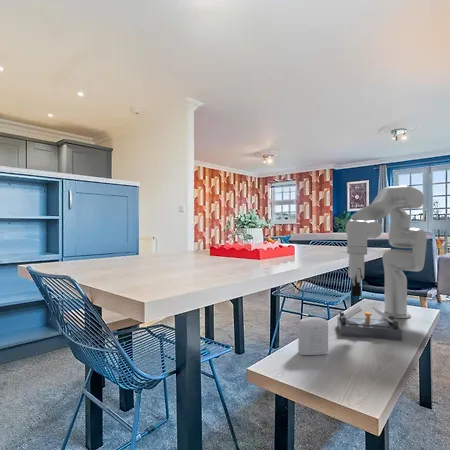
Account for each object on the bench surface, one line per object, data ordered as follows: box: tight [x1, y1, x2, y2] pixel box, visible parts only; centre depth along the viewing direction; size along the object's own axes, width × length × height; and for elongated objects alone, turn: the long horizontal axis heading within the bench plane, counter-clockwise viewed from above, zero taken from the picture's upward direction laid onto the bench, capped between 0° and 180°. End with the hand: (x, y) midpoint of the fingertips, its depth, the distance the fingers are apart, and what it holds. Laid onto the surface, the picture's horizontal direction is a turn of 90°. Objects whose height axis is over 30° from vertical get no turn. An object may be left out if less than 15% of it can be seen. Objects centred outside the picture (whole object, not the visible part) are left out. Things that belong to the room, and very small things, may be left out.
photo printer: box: [297, 316, 329, 356], centre depth 107 cm, size 10×4×12 cm, turn 98°
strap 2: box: [372, 306, 395, 324], centre depth 125 cm, size 9×5×1 cm
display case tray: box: [336, 311, 403, 341], centre depth 127 cm, size 12×22×8 cm, turn 76°
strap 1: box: [341, 305, 363, 320], centre depth 128 cm, size 9×5×1 cm
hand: (356, 295), depth 127 cm, fingers closed
